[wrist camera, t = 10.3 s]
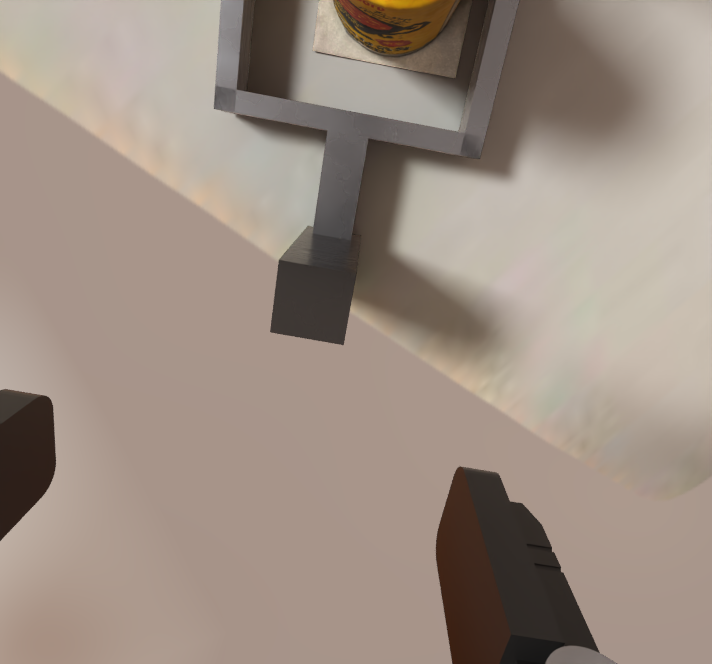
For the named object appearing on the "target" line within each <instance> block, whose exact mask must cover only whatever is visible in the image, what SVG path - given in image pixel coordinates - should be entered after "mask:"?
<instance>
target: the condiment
mask: <svg viewBox="0 0 712 664" xmlns="http://www.w3.org/2000/svg"><path fill="white" fill-rule="evenodd" d="M472 1H473V0H319V6H318V13H317V20H316V29H315V36H314V44H313V50H312V51H317V52H322V53H327V54H332V55H336V56H342V57H347V58H351V59H356V60H361V61H367V62H371V63H376V64H382V65H387V66H392V67H398V68H403V69H408V70H413V71H419V72H426V73H430V74H435V75H440V76H445V77H450V78H455V77H456V73H457V68H458V64H459V59H460V54H461V50H462V45H463V41H464V36H465V32H466V27H467V23H468V18H469V14H470V9H471V5H472Z"/></svg>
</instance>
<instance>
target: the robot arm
mask: <svg viewBox="0 0 712 664" xmlns="http://www.w3.org/2000/svg"><path fill="white" fill-rule="evenodd" d="M55 467H56V455H55V436H54V416H53V405H52V402H51V400H50V398H49V397H47V396H43V395H37V394H31V393H25V392H19V391H14V390H8V389H4V390H0V541H1V540H2V538H3V537H4V536H5V535H6V534H7V533H8V532H9V531H10V530H11V529H12V528H13V527H14V526H15V525H16V524H17V523H18V522H19V521H20V520H21V518H22V517H23V516H24V515H25V514H26V513H27V512H28V511H29V510H30V509H31V508H32V507H33V506H34V505H35V504H36V503H37V501H39V499H40V498H41V497H42V496H43V495H44V494H45V492H46V491H47V489H48V488H49V486H50V484H51V481H52V479H53V476H54V472H55ZM436 561H437V567H438V574H439V580H440V586H441V594H442V600H443V606H444V612H445V618H446V625H447V631H448V638H449V644H450V651H451V657H452V664H617V663H615V662H614V661H613V660H611V659H609V658H608V657H606V656H604V655H603V654H600V652H599V650H598V648H597V646H596V644H595V642H594V639H593V637H592V635H591V633H590V631H589V628H588V626H587V624H586V622H585V619H584V617H583V615H582V613H581V611H580V609H579V606H578V605H577V602H576V600H575V597H574V595H573V593H572V591H571V589H570V586H569V584H568V582H567V580H566V578H565V575H564V573H562V572H561V566H560V564H559V562H558V560H557V558H556V556H555V553H554V552H552V547H551V544H550V542H549V540H548V538H547V536H546V533H545V531H544V529H543V527H542V525H541V524H540V522H539V521H538V520H537V519H536V518H535V517H534V516H533V515H532V514H531V513H530V511H529V510H528V509H527V508H526V507H525V506H524V505H523V504H522V503H516V502H510V501H509V498H508V496H507V493H506V491H505V488H504V486H503V483H502V480H501V478H500V476H499V474H498V473H496V472H490V471H484V470H478V469H472V468H466V467H458V468H457V470H456V472H455V474H454V477H453V480H452V484H451V487H450V490H449V494H448V498H447V501H446V504H445V507H444V511H443V514H442V517H441V521H440V524H439V528H438V533H437V540H436Z"/></svg>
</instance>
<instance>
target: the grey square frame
mask: <svg viewBox="0 0 712 664" xmlns="http://www.w3.org/2000/svg"><path fill="white" fill-rule="evenodd" d="M518 4H519V0H489V2H488V6H487V11H486V15H485V19H484V24H483V28H482V32H481V37H480V41H479V45H478V50H477V54H476V58H475V62H474V67H473V71H472V75H471V80H470V84H469V88H468V93H467V97H466V101H465V106H464V110H463V114H462V119H461V123H460V127H459V132H456V131H451V130H445V129H440V128H435V127H430V126H424V125H419V124H414V123H409V122H403V121H398V120H393V119H388V118H382V117H377V116H372V115H367V114H361V113H356V112H351V111H346V110H340V109H335V108H330V107H325V106H319V105H314V104H309V103H304V102H298V101H293V100H288V99H283V98H277V97H272V96H267V95H262V94H256V93H251V92H247V85H248V74H249V62H250V51H251V40H252V28H253V17H254V5H255V0H221V9H220V24H219V39H218V54H217V69H216V84H215V99H214V109H217V110H221V111H224V112H229V113H234V114H240V115H245V116H250V117H256V118H261V119H266V120H271V121H277V122H282V123H287V124H293V125H298V126H303V127H308V128H314V129H319V130H324V131H327V137H326V144H325V151H324V158H323V165H322V172H321V179H320V186H319V193H318V200H317V207H316V214H315V221H314V227H311V226H307V228H306V229H305V230H304V231H303V232H302V233H301V235H300V236H299V237H298V238H297V239H296V240H295V242H294V243H293V244H292V245H291V246H290V247H289V249H288V250H287V251H286V252H285V253H284V255H283V256H282V257H281V258H280V259H279V264H278V273H277V281H276V289H275V297H274V305H273V313H272V321H271V330H270V332H272V333H278V334H283V335H289V336H295V337H301V338H307V339H312V340H318V341H324V342H329V343H335V344H341V345H344V340H345V334H346V328H347V323H348V317H349V312H350V306H351V301H352V295H353V290H354V284H355V278H356V273H357V265H358V257H359V249H360V241H361V236H360V235H355V234H352V233H353V227H354V221H355V215H356V209H357V204H358V198H359V192H360V186H361V180H362V175H363V169H364V163H365V157H366V151H367V146H368V140H369V139H372V140H377V141H383V142H388V143H393V144H399V145H404V146H409V147H414V148H420V149H425V150H430V151H436V152H441V153H446V154H452V155H457V156H462V157H467V158H474V159H480V156H481V152H482V148H483V144H484V140H485V136H486V132H487V128H488V124H489V120H490V116H491V112H492V108H493V104H494V100H495V96H496V92H497V88H498V84H499V80H500V76H501V72H502V68H503V64H504V60H505V56H506V52H507V48H508V44H509V40H510V36H511V32H512V28H513V24H514V20H515V16H516V12H517V8H518Z"/></svg>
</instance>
